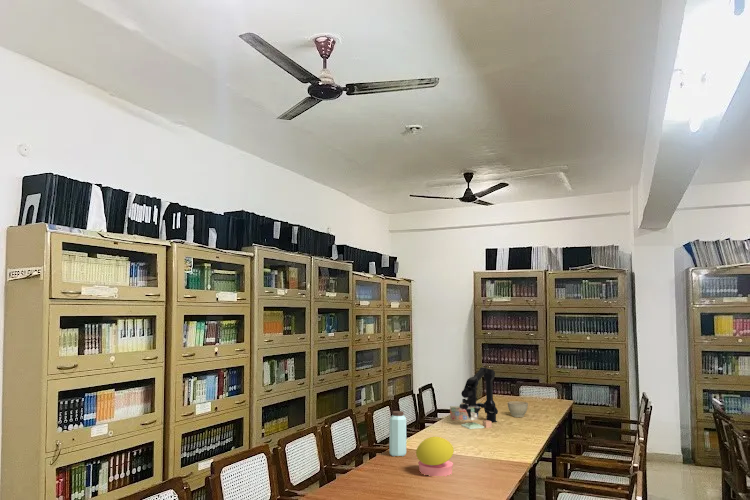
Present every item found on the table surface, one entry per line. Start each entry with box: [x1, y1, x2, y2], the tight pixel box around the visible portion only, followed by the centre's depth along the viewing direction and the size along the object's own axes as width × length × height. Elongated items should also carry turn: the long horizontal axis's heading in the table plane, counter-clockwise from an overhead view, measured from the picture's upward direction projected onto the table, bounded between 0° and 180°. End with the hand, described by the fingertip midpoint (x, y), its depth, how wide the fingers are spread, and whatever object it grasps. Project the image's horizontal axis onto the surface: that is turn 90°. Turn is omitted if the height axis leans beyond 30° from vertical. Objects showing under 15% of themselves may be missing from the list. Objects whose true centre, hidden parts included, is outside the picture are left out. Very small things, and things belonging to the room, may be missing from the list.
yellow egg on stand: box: [415, 436, 455, 477], centre depth 306 cm, size 20×18×20 cm
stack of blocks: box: [449, 402, 479, 421], centre depth 454 cm, size 21×6×12 cm, turn 91°
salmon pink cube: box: [482, 420, 493, 429], centre depth 423 cm, size 4×4×4 cm
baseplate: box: [461, 422, 485, 430], centre depth 423 cm, size 12×12×2 cm
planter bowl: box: [507, 400, 529, 418], centre depth 466 cm, size 16×16×11 cm
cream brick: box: [468, 412, 478, 421], centre depth 423 cm, size 4×4×4 cm
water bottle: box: [388, 410, 407, 457], centre depth 342 cm, size 10×10×25 cm
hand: (472, 417), depth 423 cm, fingers closed on cream brick, 4 cm apart
